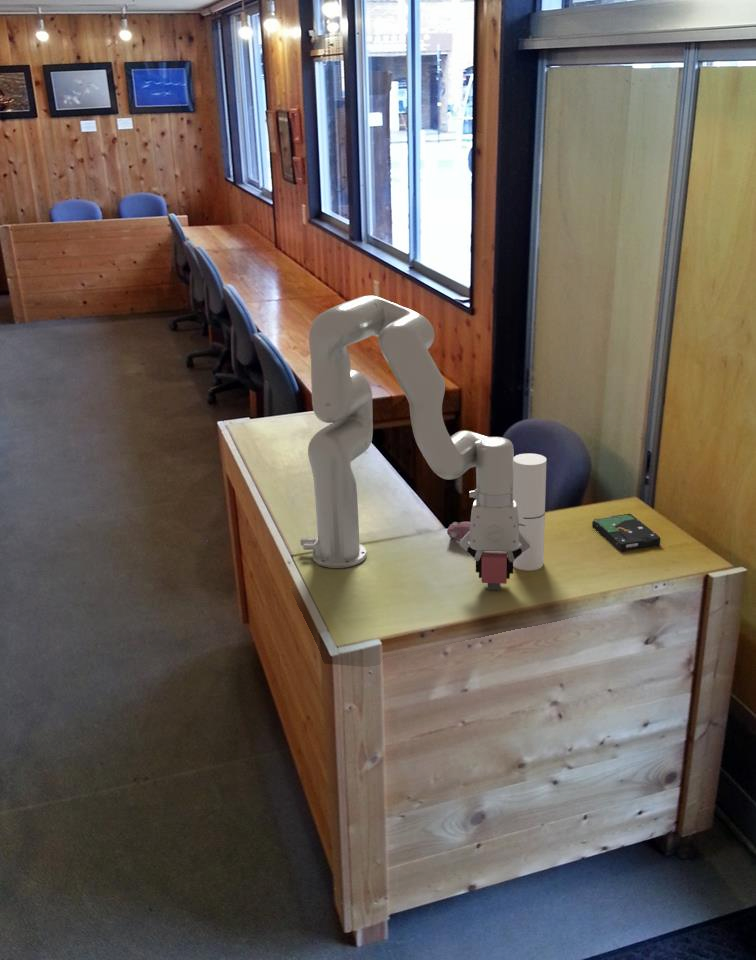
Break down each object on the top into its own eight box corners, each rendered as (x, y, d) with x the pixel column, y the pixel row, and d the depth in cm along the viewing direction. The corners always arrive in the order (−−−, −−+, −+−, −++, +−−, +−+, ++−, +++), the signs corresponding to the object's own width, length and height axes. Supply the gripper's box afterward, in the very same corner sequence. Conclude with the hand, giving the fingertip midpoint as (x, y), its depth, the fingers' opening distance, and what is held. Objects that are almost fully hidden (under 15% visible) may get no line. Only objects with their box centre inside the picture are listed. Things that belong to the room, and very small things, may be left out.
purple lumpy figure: (447, 547, 222) (443, 528, 217) (452, 532, 225) (448, 513, 220) (488, 552, 219) (485, 533, 214) (492, 537, 222) (489, 518, 217)
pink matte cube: (481, 582, 196) (481, 557, 194) (482, 571, 201) (482, 546, 199) (506, 583, 196) (506, 558, 193) (507, 572, 200) (507, 547, 198)
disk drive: (660, 548, 215) (629, 522, 228) (661, 537, 214) (630, 512, 227) (620, 554, 213) (590, 528, 226) (621, 543, 212) (591, 518, 225)
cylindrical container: (542, 571, 205) (545, 465, 196) (510, 569, 207) (511, 464, 198) (543, 557, 212) (547, 453, 203) (512, 555, 213) (514, 452, 204)
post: (487, 589, 198) (487, 560, 196) (488, 584, 201) (488, 555, 198) (499, 590, 198) (500, 560, 195) (500, 584, 200) (500, 555, 198)
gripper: (451, 503, 189) (453, 582, 196) (536, 504, 187) (535, 585, 193) (454, 489, 196) (455, 566, 203) (536, 490, 194) (535, 568, 200)
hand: (494, 574), depth 198 cm, fingers closed on pink matte cube, 5 cm apart
